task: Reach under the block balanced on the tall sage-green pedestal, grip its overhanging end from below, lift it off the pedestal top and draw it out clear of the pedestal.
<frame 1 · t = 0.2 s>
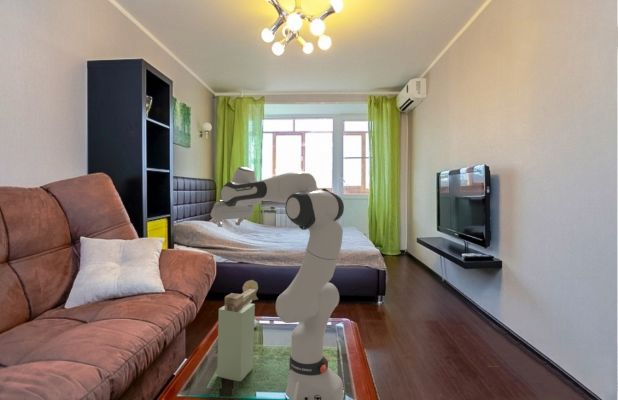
hand: (228, 225, 156), 54 cm above the table, tool tilted 30°, fingers open, 8 cm apart
flower in vase: (247, 327, 172), on the table
pedestal: (235, 372, 131), on the table
video game controller: (309, 331, 170), on the table
block: (242, 303, 134), point 26 cm above the table, touching pedestal
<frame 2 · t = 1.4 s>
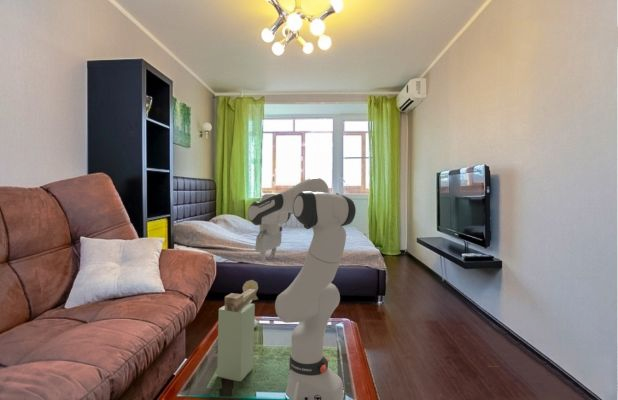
hand: (268, 258, 156), 39 cm above the table, tool pointing down, fingers open, 8 cm apart
nothing on the table moved.
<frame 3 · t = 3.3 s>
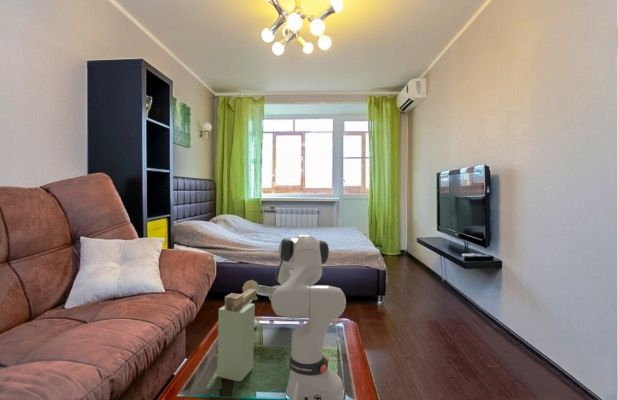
hand: (268, 288, 158), 25 cm above the table, tool pointing upward, fingers open, 8 cm apart
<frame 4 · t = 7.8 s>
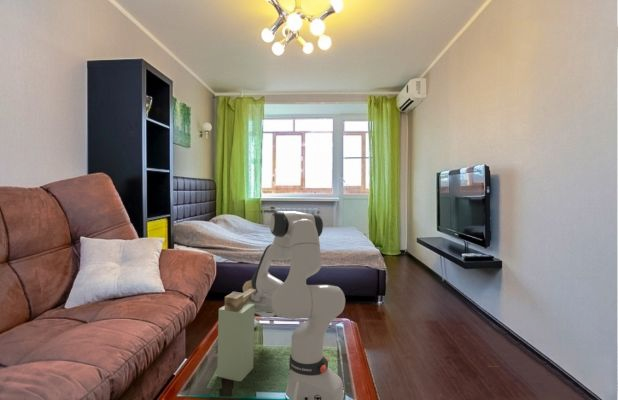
hand: (246, 295, 137), 28 cm above the table, tool pointing upward, fingers closed on block, 3 cm apart
block: (242, 303, 134), point 26 cm above the table, touching gripper, pedestal
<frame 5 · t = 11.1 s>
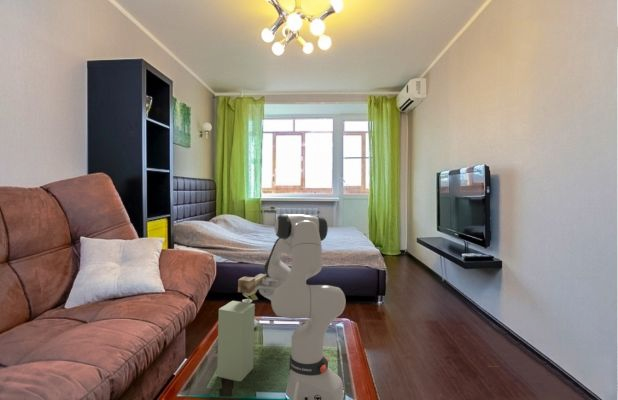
hand: (257, 279, 146), 32 cm above the table, tool pointing upward, fingers closed on block, 3 cm apart
block: (253, 286, 143), point 30 cm above the table, touching gripper
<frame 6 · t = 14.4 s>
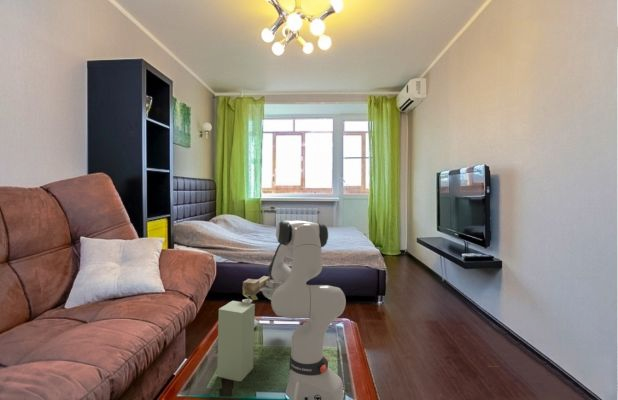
hand: (261, 281, 150), 30 cm above the table, tool pointing upward, fingers closed on block, 3 cm apart
block: (258, 288, 147), point 28 cm above the table, touching gripper
at the end: the gripper is holding block; block touching gripper; block point 27.9 cm above the table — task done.
